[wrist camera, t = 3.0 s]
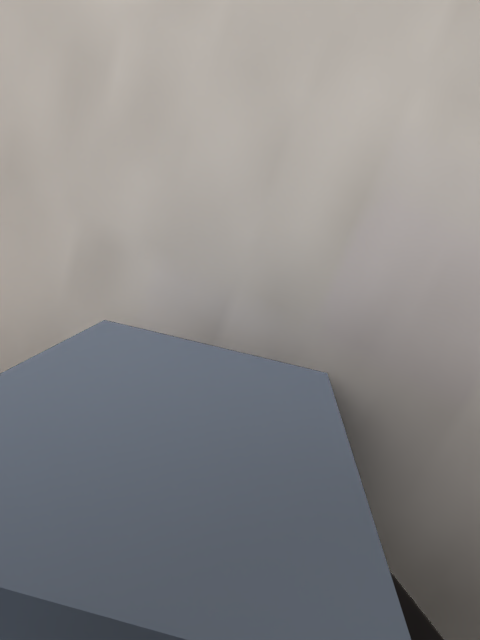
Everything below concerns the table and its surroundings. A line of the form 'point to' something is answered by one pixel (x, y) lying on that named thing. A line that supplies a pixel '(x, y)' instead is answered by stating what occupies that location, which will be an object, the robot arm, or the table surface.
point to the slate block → (182, 499)
